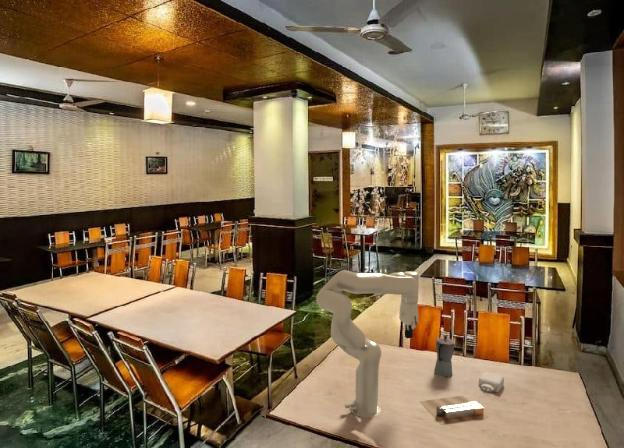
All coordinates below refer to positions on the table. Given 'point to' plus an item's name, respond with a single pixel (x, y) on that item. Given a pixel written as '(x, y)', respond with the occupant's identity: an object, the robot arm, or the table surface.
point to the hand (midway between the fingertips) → (408, 337)
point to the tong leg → (453, 407)
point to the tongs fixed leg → (464, 412)
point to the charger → (491, 382)
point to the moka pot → (444, 356)
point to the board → (433, 404)
